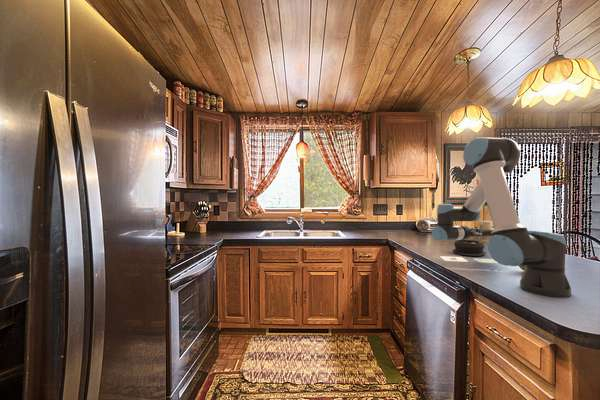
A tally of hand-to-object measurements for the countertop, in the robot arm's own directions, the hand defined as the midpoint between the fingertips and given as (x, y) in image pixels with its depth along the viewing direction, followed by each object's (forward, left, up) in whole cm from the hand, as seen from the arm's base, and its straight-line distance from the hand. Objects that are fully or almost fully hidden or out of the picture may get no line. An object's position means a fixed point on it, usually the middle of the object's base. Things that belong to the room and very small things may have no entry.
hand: (492, 230), depth 156 cm
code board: (-2, +20, -17) cm, 27 cm away
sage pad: (-3, +4, -17) cm, 18 cm away
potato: (-22, -10, -18) cm, 30 cm away
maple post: (-3, +4, -6) cm, 8 cm away
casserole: (+18, +6, -18) cm, 26 cm away
